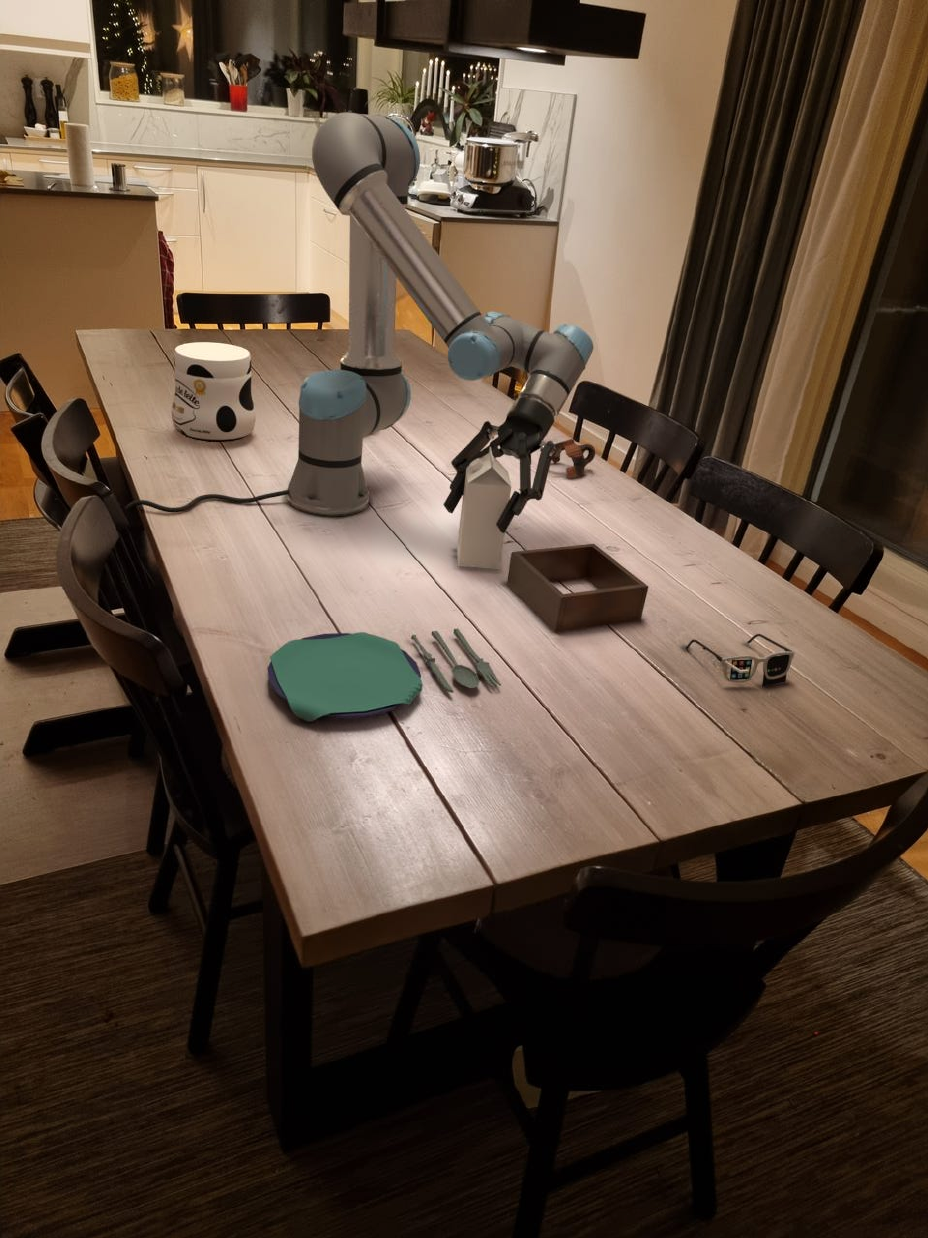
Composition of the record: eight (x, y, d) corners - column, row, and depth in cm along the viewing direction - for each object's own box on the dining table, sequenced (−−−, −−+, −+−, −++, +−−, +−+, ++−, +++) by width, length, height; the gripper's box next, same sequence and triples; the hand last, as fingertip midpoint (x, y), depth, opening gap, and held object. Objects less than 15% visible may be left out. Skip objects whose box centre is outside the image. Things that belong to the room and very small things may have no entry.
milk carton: (496, 552, 160) (511, 448, 151) (499, 570, 154) (515, 463, 145) (456, 548, 160) (468, 444, 150) (457, 566, 153) (470, 459, 144)
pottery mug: (558, 482, 197) (548, 445, 196) (542, 486, 206) (532, 450, 205) (607, 467, 200) (597, 430, 199) (588, 471, 209) (579, 436, 208)
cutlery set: (252, 653, 124) (252, 638, 123) (455, 630, 135) (457, 616, 134) (287, 739, 108) (287, 724, 107) (513, 705, 120) (516, 690, 119)
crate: (554, 632, 138) (561, 597, 135) (506, 584, 151) (511, 551, 148) (640, 619, 145) (648, 586, 142) (587, 575, 157) (594, 543, 154)
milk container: (156, 439, 191) (152, 352, 182) (197, 417, 206) (194, 336, 197) (233, 454, 188) (232, 367, 180) (268, 431, 203) (269, 349, 195)
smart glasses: (734, 700, 126) (739, 667, 125) (681, 662, 139) (684, 632, 138) (807, 692, 130) (813, 660, 128) (748, 656, 143) (753, 626, 141)
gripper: (599, 438, 153) (537, 550, 149) (488, 404, 163) (427, 509, 159) (589, 412, 146) (525, 529, 142) (474, 379, 156) (411, 487, 152)
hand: (473, 518), depth 150 cm, fingers closed on milk carton, 10 cm apart
